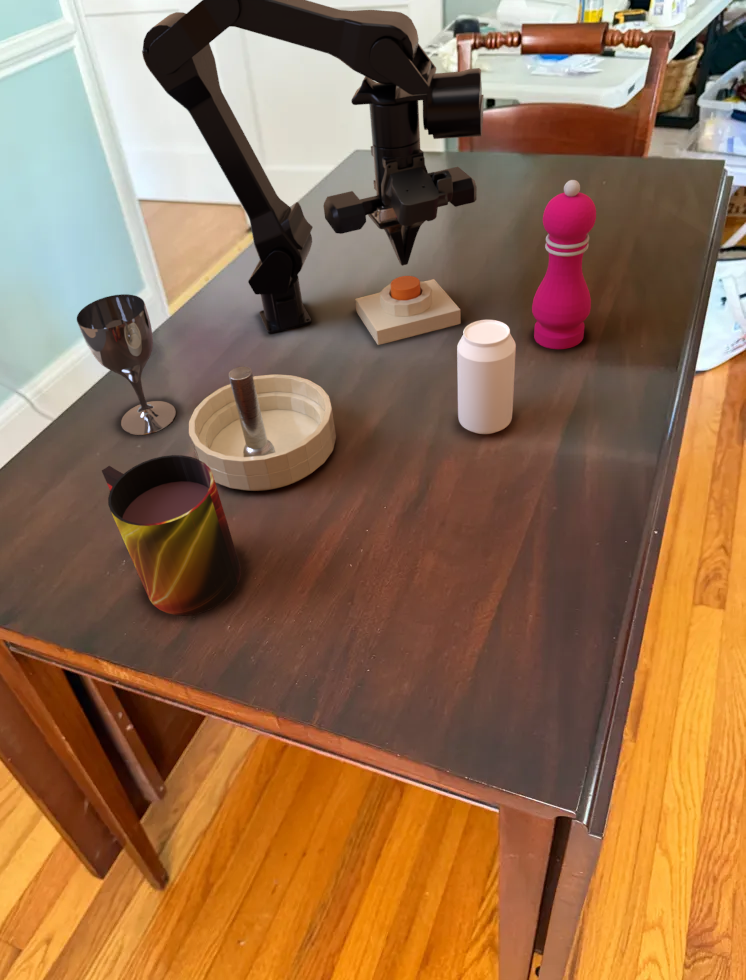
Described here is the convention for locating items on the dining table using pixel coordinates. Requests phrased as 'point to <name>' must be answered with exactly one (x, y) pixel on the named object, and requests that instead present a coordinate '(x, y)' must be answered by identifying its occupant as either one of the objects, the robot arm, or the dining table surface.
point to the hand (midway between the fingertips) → (403, 264)
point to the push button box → (407, 313)
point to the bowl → (288, 425)
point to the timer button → (405, 288)
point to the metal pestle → (249, 413)
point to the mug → (175, 532)
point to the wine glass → (125, 353)
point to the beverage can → (485, 376)
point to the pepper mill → (564, 270)
